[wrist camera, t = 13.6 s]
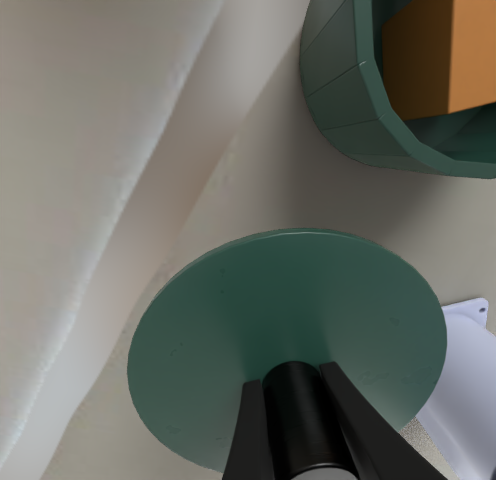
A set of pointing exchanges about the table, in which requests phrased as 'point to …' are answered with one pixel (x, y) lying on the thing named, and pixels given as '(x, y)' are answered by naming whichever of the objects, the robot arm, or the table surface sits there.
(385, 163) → the pot
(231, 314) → the lid
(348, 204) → the table surface
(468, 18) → the orange block with knob
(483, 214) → the table surface
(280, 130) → the table surface
